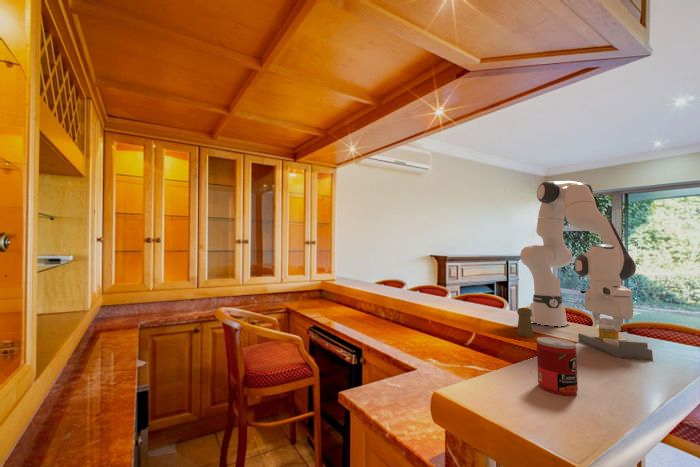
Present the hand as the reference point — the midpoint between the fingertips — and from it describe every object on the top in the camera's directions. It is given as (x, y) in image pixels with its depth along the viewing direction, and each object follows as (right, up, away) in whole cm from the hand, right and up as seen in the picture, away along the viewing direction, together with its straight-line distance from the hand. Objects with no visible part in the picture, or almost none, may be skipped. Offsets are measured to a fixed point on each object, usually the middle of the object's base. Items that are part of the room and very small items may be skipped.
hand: (607, 327), depth 110 cm
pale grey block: (-1, -7, -5) cm, 9 cm away
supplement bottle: (0, -7, -1) cm, 7 cm away
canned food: (-43, -3, -38) cm, 58 cm away
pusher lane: (0, -7, -2) cm, 7 cm away
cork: (-20, -9, +17) cm, 27 cm away
